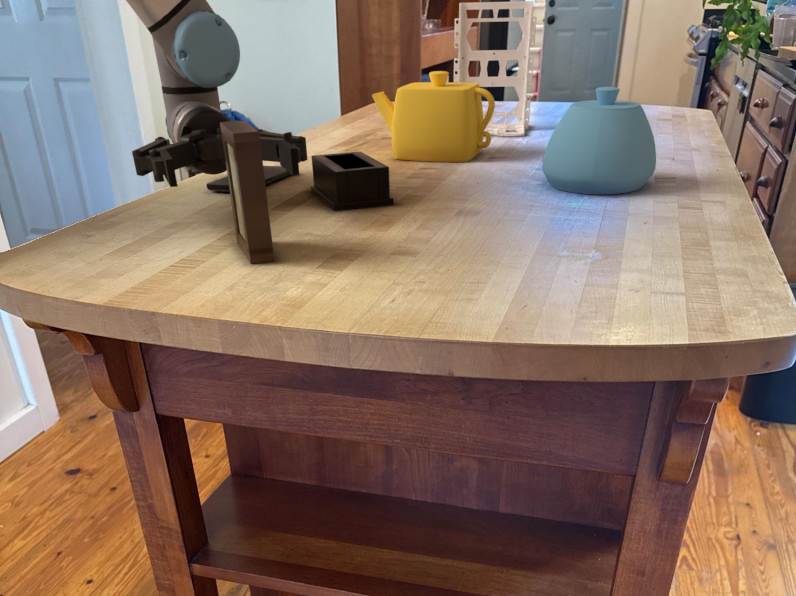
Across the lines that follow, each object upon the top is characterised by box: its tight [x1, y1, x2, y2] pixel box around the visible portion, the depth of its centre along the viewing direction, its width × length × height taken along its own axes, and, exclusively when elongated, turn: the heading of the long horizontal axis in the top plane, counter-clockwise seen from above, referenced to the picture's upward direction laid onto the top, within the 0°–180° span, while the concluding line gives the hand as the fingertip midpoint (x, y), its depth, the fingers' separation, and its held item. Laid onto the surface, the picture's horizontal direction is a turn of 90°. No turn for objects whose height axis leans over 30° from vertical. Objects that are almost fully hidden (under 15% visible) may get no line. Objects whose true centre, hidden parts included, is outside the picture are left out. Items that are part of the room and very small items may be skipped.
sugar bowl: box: [541, 86, 657, 196], centre depth 99 cm, size 15×15×12 cm
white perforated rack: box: [453, 0, 538, 137], centre depth 136 cm, size 14×14×20 cm
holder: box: [310, 151, 395, 212], centre depth 98 cm, size 12×8×4 cm, turn 20°
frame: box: [220, 120, 275, 265], centre depth 76 cm, size 8×2×12 cm, turn 20°
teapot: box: [371, 70, 496, 163], centre depth 120 cm, size 20×12×12 cm, turn 73°
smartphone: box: [206, 165, 292, 193], centre depth 108 cm, size 7×1×15 cm
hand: (234, 167), depth 82 cm, fingers open, 13 cm apart
